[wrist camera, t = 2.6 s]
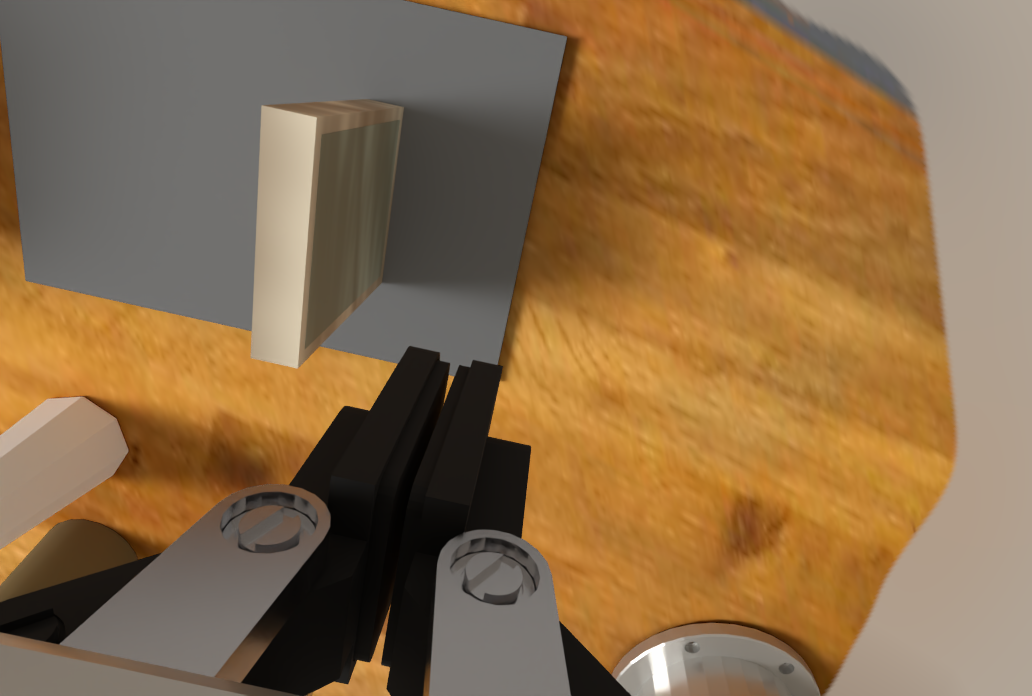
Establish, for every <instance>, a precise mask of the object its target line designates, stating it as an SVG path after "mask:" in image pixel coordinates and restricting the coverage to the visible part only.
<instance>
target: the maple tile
mask: <svg viewBox="0 0 1032 696" xmlns="http://www.w3.org/2000/svg"><path fill="white" fill-rule="evenodd" d="M403 111H404V107H401V106H397V105H392V104H388V103H383V102H379V101H374V100H370V99H359V100H342V101H325V102H308V103H291V104H274V105H262V107H261V130H260V153H259V177H258V200H257V223H256V246H255V270H254V293H253V316H252V340H251V358H253V359H258V360H262V361H267V362H271V363H276V364H280V365H285V366H289V367H294V368H299V367H300V366H301V365H302V364H303V363H304V362H305V361H306V360H307V359H308V358H309V357H310V355H311V354H312V353H313V352H314V351H315V350H316V349H317V348H318V347H319V346H320V345H321V344H322V343H323V342H324V341H325V340H326V339H327V338H328V337H329V336H330V335H331V334H332V333H333V332H334V331H335V330H336V329H337V328H338V327H339V326H340V325H341V324H342V323H343V322H344V321H345V320H346V319H347V318H348V317H349V316H350V315H351V314H352V313H353V312H354V311H355V310H356V309H357V308H358V307H359V306H360V305H361V304H362V303H363V302H364V301H365V300H366V298H367V297H368V296H369V295H370V294H371V293H372V292H373V291H374V290H375V289H376V288H377V287H378V286H379V285H380V284H381V283H382V278H383V270H384V262H385V254H386V246H387V238H388V230H389V222H390V214H391V206H392V198H393V191H394V183H395V175H396V167H397V159H398V151H399V143H400V135H401V127H402V119H403Z"/></svg>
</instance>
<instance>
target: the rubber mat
mask: <svg viewBox="0 0 1032 696" xmlns="http://www.w3.org/2000/svg"><path fill="white" fill-rule="evenodd" d="M0 41H1V50H2V60H3V69H4V79H5V88H6V98H7V107H8V117H9V126H10V136H11V146H12V155H13V165H14V174H15V184H16V193H17V203H18V212H19V222H20V231H21V241H22V251H23V260H24V270H25V279H26V281H29V282H33V283H38V284H42V285H47V286H51V287H56V288H60V289H65V290H69V291H74V292H78V293H83V294H87V295H92V296H96V297H101V298H105V299H110V300H114V301H119V302H123V303H128V304H132V305H137V306H141V307H146V308H150V309H155V310H159V311H164V312H168V313H173V314H177V315H182V316H186V317H191V318H195V319H200V320H204V321H209V322H213V323H218V324H222V325H227V326H231V327H236V328H240V329H245V330H249V331H252V316H253V293H254V270H255V246H256V223H257V200H258V177H259V153H260V130H261V107H262V105H274V104H291V103H308V102H325V101H342V100H359V99H370V100H374V101H379V102H383V103H388V104H392V105H397V106H401V107H404V111H403V119H402V127H401V135H400V143H399V151H398V159H397V167H396V175H395V183H394V191H393V198H392V206H391V214H390V222H389V230H388V238H387V246H386V254H385V262H384V270H383V278H382V283H381V284H380V285H379V286H378V287H377V288H376V289H375V290H374V291H373V292H372V293H371V294H370V295H369V296H368V297H367V298H366V300H365V301H364V302H363V303H362V304H361V305H360V306H359V307H358V308H357V309H356V310H355V311H354V312H353V313H352V314H351V315H350V316H349V317H348V318H347V319H346V320H345V321H344V322H343V323H342V324H341V325H340V326H339V327H338V328H337V329H336V330H335V331H334V332H333V333H332V334H331V335H330V336H329V337H328V338H327V339H326V340H325V341H324V342H323V343H322V344H321V345H320V346H321V347H326V348H330V349H335V350H339V351H344V352H348V353H353V354H357V355H362V356H366V357H371V358H375V359H380V360H384V361H389V362H393V363H399V361H400V360H401V358H402V356H403V355H404V353H405V352H406V350H407V348H408V347H409V346H413V347H418V348H422V349H427V350H431V351H436V352H440V361H444V362H448V363H450V370H449V375H452V376H455V374H456V372H457V369H458V367H459V365H462V366H467V367H470V366H471V364H472V361H473V360H477V361H482V362H486V363H491V364H495V365H498V361H499V357H500V352H501V347H502V343H503V338H504V333H505V328H506V324H507V319H508V314H509V310H510V305H511V300H512V295H513V291H514V286H515V281H516V277H517V272H518V267H519V262H520V258H521V253H522V248H523V244H524V239H525V234H526V229H527V225H528V220H529V215H530V211H531V206H532V201H533V196H534V192H535V187H536V182H537V178H538V173H539V168H540V163H541V159H542V154H543V149H544V145H545V140H546V135H547V130H548V126H549V121H550V116H551V112H552V107H553V102H554V97H555V93H556V88H557V83H558V79H559V74H560V69H561V64H562V60H563V55H564V50H565V46H566V41H567V37H566V36H562V35H557V34H553V33H548V32H544V31H539V30H535V29H530V28H526V27H521V26H517V25H512V24H508V23H503V22H499V21H494V20H490V19H485V18H481V17H476V16H472V15H467V14H463V13H458V12H454V11H449V10H445V9H440V8H436V7H431V6H427V5H422V4H418V3H413V2H409V1H404V0H0Z"/></svg>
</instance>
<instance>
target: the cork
mask: <svg viewBox="0 0 1032 696" xmlns="http://www.w3.org/2000/svg"><path fill="white" fill-rule="evenodd" d="M136 560H138V559H137V556H136V554H135V552H134V551H133V549H132V548H131V547H130V545H129V544H128V543H127V541H126V540H124V539H123V538H122V537H121V536H120V535H118V534H117V533H116V532H115V531H113V530H111V529H109V528H107V527H105V526H103V525H102V524H100V523H96V522H92V521H88V520H67V521H64V522H61V523H58V524H57V525H55V526H54V527H53V528H52V529H51V530H50V531H49V532H48V533H47V534H46V535H45V536H44V537H43V539H42V540H41V541H40V542H39V543H38V544H37V545H36V546H35V547H34V549H33V550H32V551H31V552H30V553H29V554H28V555H27V556H26V557H25V559H24V560H23V561H22V562H21V563H20V564H19V565H18V566H17V567H16V569H15V570H14V571H13V572H12V573H11V574H10V575H9V576H8V577H7V579H6V580H5V581H4V582H3V583H2V584H1V585H0V602H2V601H5V600H7V599H11V598H14V597H17V596H21V595H24V594H27V593H30V592H34V591H37V590H40V589H44V588H47V587H50V586H54V585H57V584H60V583H64V582H67V581H70V580H74V579H77V578H80V577H83V576H87V575H90V574H93V573H97V572H100V571H103V570H107V569H110V568H113V567H117V566H120V565H123V564H127V563H130V562H133V561H136Z"/></svg>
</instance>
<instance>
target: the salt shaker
mask: <svg viewBox="0 0 1032 696" xmlns="http://www.w3.org/2000/svg"><path fill="white" fill-rule="evenodd" d="M127 453H128V447H127V444H126V442H125V439H124V437H123V434H122V432H121V429H120V426H119V424H118V421H117V419H116V418H115V417H114V416H112V415H111V414H109V413H108V412H106V411H105V410H103V409H101V408H100V407H98V406H97V405H95V404H94V403H92V402H91V401H89V400H88V399H86V398H85V397H69V398H54V399H47V400H45V401H44V402H43V403H42V404H40V405H39V406H38V407H36V408H35V409H34V410H33V411H31V412H30V413H29V414H27V415H26V416H25V417H23V418H22V419H21V420H20V421H18V422H17V423H16V424H14V425H13V426H12V427H11V428H9V429H8V430H7V431H5V432H4V433H3V434H1V435H0V549H2V548H3V547H5V546H6V545H8V544H9V543H11V542H12V541H14V540H15V539H17V538H18V537H20V536H21V535H23V534H24V533H26V532H27V531H29V530H31V529H32V528H34V527H35V526H37V525H38V524H40V523H41V522H43V521H44V520H46V519H47V518H49V517H50V516H52V515H53V514H55V513H56V512H58V511H59V510H61V509H62V508H64V507H65V506H67V505H68V504H70V503H72V502H73V501H75V500H76V499H78V498H79V497H81V496H82V495H84V494H85V493H87V492H88V491H90V490H91V489H93V488H94V487H96V486H97V485H99V484H100V483H102V482H103V481H105V480H106V479H108V478H109V477H111V476H113V475H114V473H115V472H116V470H117V469H118V467H119V465H120V464H121V462H122V461H123V459H124V458H125V456H126V455H127Z"/></svg>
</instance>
